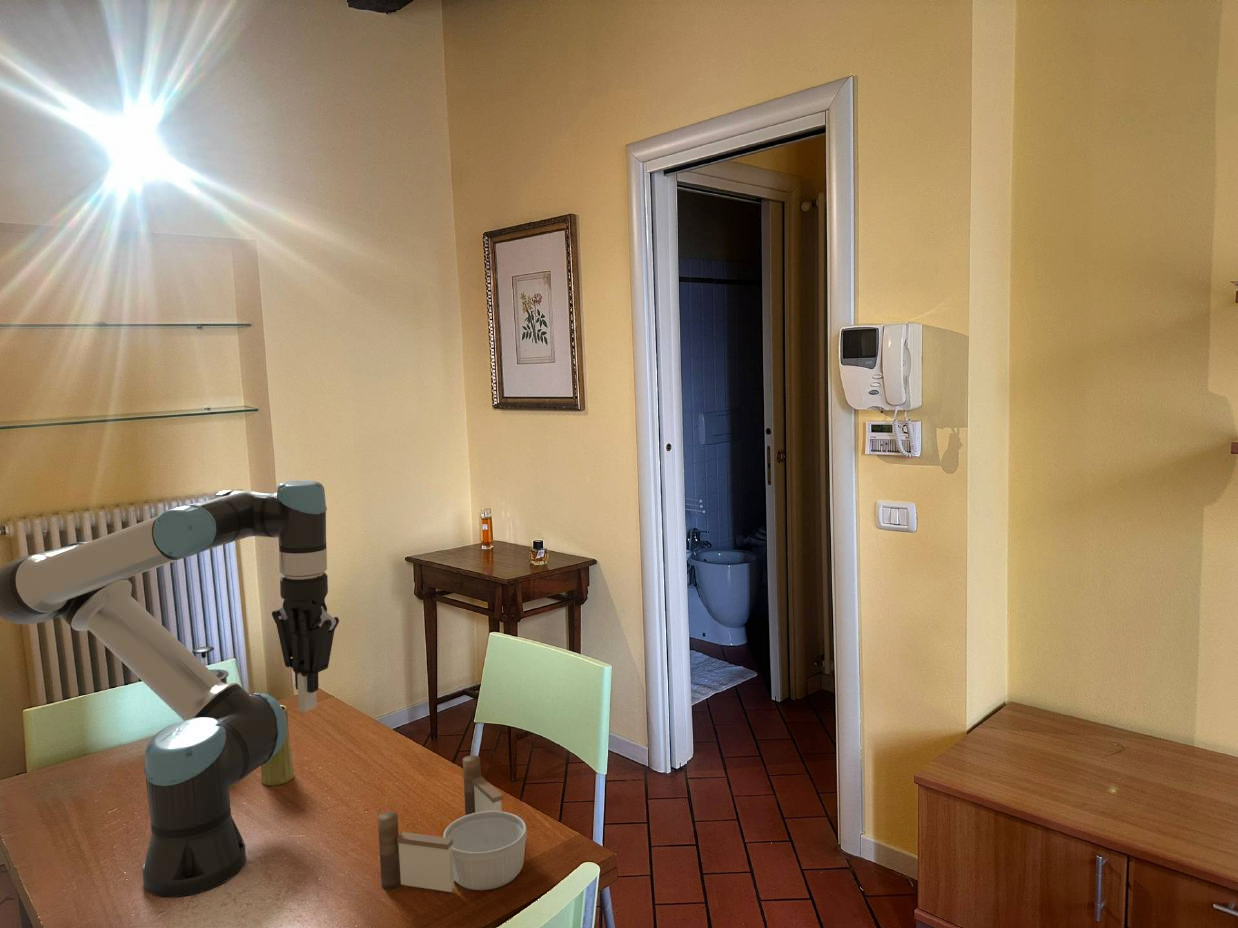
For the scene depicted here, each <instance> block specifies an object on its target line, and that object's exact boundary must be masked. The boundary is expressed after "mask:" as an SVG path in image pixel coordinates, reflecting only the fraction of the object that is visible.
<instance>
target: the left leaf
mask: <svg viewBox="0 0 1238 928" xmlns="http://www.w3.org/2000/svg"><path fill="white" fill-rule="evenodd" d="M397 843H399V860H400V877H401V885H402V886H408V887H415V888H423V889H428V890H436V891H442V892H450V893H452V891H453V890H454V889H455V880H454V870H453V850H452V844H453V838H445V837H443V836H436V835H429V834H428V835H427V834H421V833H414V832H413V833H412V832H405V831H402V832H401V834H399V837H398V838H397ZM401 885H400V886H401Z"/></svg>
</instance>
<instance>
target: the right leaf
mask: <svg viewBox="0 0 1238 928" xmlns="http://www.w3.org/2000/svg"><path fill="white" fill-rule="evenodd" d="M472 784H473V785H474V797H475V813H477V812H483V811H502V812H503V809H502V808H503V807H502V801H503V800H504V795H503V794H502V793H501V792H500V791H499V790H497V788H496V787H494V786H493V785H492V784H491V783H489V781H487V780H486V779H485V778H484V777H483V776H482V775H481V777H478V778H475V779H472Z"/></svg>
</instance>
